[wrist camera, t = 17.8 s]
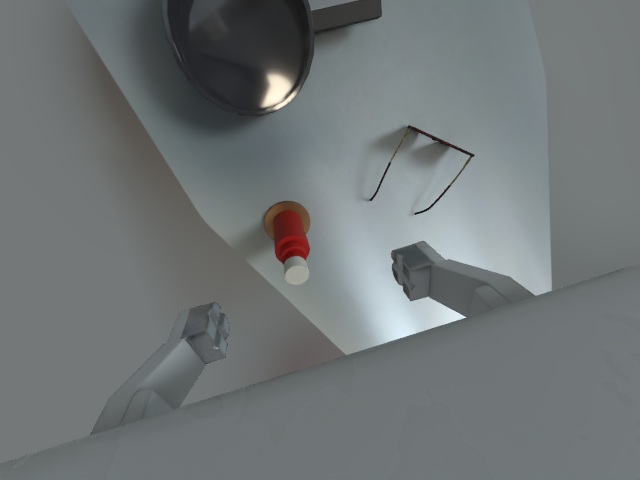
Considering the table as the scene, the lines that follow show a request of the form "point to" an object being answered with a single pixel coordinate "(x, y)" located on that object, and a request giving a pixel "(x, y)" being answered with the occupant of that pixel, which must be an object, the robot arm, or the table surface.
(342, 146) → the table surface
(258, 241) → the table surface
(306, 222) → the coaster
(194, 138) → the table surface
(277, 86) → the pan
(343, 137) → the table surface
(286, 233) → the sauce bottle
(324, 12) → the pan handle
